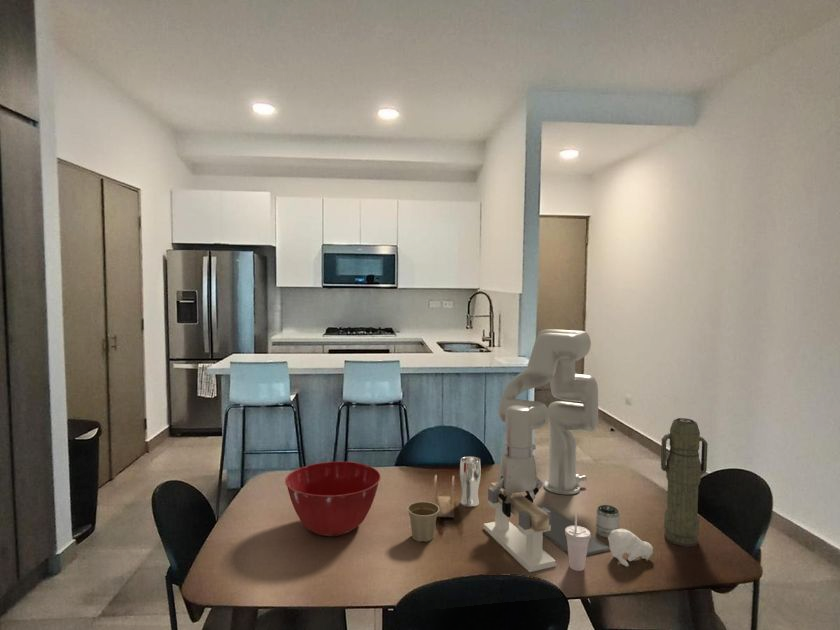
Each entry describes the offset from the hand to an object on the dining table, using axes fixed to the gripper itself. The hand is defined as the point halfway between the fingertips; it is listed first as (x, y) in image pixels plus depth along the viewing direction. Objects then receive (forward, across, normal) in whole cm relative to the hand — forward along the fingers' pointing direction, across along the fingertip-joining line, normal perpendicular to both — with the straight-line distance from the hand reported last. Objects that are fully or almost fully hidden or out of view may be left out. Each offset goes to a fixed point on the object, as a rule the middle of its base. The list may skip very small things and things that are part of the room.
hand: (517, 512), depth 144 cm
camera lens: (+10, -29, +3) cm, 31 cm away
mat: (+10, -17, -4) cm, 20 cm away
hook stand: (+10, 0, 0) cm, 10 cm away
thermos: (+10, -47, +13) cm, 50 cm away
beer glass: (+10, 0, -30) cm, 32 cm away
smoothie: (+10, -9, +15) cm, 20 cm away
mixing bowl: (+10, +46, -30) cm, 56 cm away
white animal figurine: (+10, -25, +17) cm, 32 cm away
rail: (0, 0, 0) cm, 0 cm away
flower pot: (+10, +23, -14) cm, 29 cm away
